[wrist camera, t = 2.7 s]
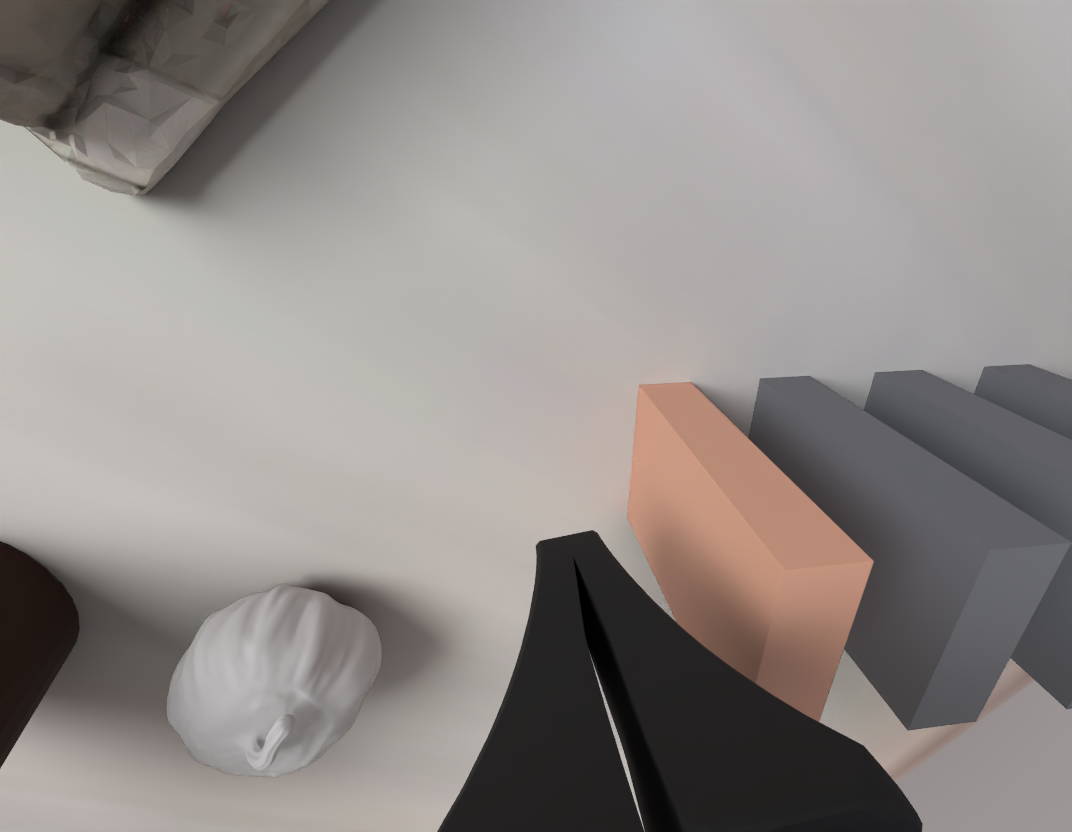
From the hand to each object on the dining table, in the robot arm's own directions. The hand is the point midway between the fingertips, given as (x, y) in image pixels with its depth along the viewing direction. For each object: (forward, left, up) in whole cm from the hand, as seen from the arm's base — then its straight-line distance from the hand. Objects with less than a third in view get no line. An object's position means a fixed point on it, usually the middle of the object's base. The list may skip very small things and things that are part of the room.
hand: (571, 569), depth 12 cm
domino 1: (-4, 0, -5) cm, 6 cm away
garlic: (+8, +6, -5) cm, 11 cm away
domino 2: (-7, 0, -5) cm, 9 cm away
